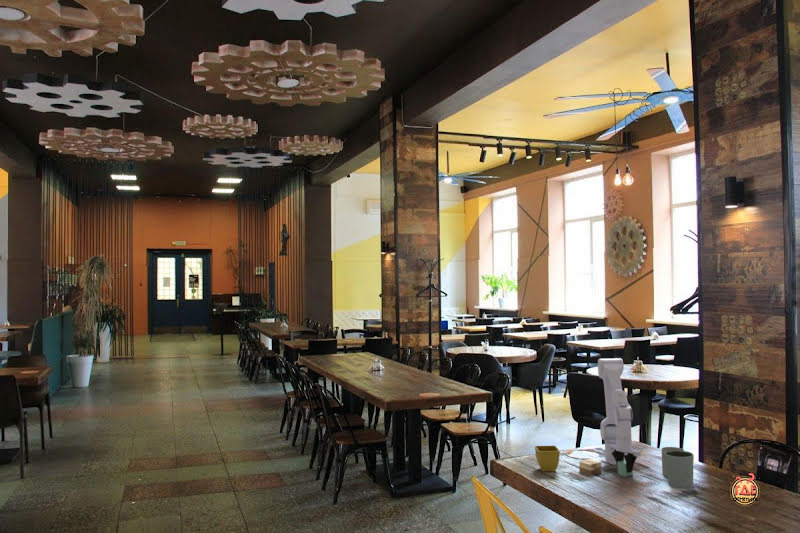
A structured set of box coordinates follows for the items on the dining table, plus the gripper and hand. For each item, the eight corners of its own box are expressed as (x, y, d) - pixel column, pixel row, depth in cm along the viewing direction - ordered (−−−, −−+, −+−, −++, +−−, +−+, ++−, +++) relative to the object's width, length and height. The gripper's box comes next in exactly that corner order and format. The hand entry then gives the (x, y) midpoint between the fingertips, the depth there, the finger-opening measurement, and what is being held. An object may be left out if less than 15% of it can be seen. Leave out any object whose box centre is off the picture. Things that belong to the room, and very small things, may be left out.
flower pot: (560, 472, 269) (560, 450, 269) (539, 473, 269) (538, 451, 269) (556, 466, 278) (555, 445, 278) (535, 467, 278) (534, 445, 278)
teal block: (624, 472, 267) (624, 459, 267) (632, 474, 264) (632, 462, 264) (617, 474, 265) (617, 461, 265) (625, 476, 262) (625, 463, 262)
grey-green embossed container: (697, 490, 243) (696, 457, 243) (668, 489, 245) (667, 456, 245) (691, 481, 253) (690, 450, 253) (663, 480, 255) (662, 449, 255)
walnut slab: (590, 470, 273) (590, 464, 273) (601, 473, 268) (601, 468, 268) (579, 472, 270) (579, 467, 270) (590, 476, 265) (590, 470, 265)
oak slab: (590, 464, 273) (589, 459, 273) (601, 468, 268) (601, 462, 268) (579, 467, 270) (579, 461, 270) (590, 470, 265) (590, 464, 265)
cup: (681, 471, 266) (680, 446, 266) (688, 477, 258) (687, 452, 258) (659, 471, 267) (658, 446, 267) (665, 477, 258) (664, 452, 259)
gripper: (603, 434, 269) (604, 468, 269) (631, 441, 256) (632, 476, 256) (615, 432, 272) (616, 465, 272) (643, 439, 260) (645, 473, 260)
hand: (625, 470), depth 264 cm, fingers closed on teal block, 4 cm apart
